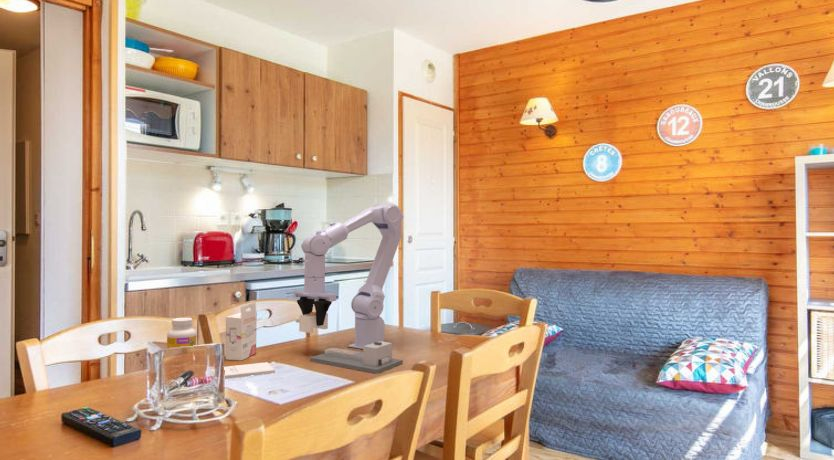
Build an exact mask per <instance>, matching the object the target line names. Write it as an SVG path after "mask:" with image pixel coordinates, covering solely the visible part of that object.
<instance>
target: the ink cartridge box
mask: <svg viewBox="0 0 834 460" xmlns="http://www.w3.org/2000/svg"><path fill="white" fill-rule="evenodd" d="M239 309H240V312H238V313H235V314H231V315H228V316H225V361H226V360H230V361H243V360H245V359H248V358H250V357H252V356H253V355H256V354H257V322H258V321H257V320H258V319H257V305H256V302H252V303H248V304H244V305H241V306H240V308H239ZM247 309H249V310H247Z"/></svg>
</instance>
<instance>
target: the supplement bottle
mask: <svg viewBox="0 0 834 460" xmlns="http://www.w3.org/2000/svg"><path fill="white" fill-rule="evenodd" d="M192 324H193V318H191V317H176V318H172V319H171V325H172V328H171V329H169V330H168V331H167V333H166V334H167V336H166V348H167V347H168V348H169V347H180V346H193V345H196V346H197V331H196V329H195V328H193V327H192Z"/></svg>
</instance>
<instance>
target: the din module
mask: <svg viewBox="0 0 834 460" xmlns="http://www.w3.org/2000/svg"><path fill="white" fill-rule="evenodd" d="M328 321H329V313H326V316H325V320H324V324H323V325H321V326H317V323H316V311H312V312H310V314H305V315H303V314H301V315H299V321H298V325H299V327H298V332H304V333H309V334H311V333H314V329H321V330H327V329H328V328H329V327H328V324H329V322H328Z"/></svg>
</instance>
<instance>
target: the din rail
mask: <svg viewBox="0 0 834 460" xmlns="http://www.w3.org/2000/svg"><path fill="white" fill-rule="evenodd" d="M324 353H325V355H327V356H332V357H338V358H344V359H349V360H355V361H360V362H363V351H357V350H353V349H352V350H351V349H346V348H345V349H344V348H338V347H329V348H326V349H324ZM387 363H389V357H385V358H382V359H379V361H378V365H384V364H387Z"/></svg>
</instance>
